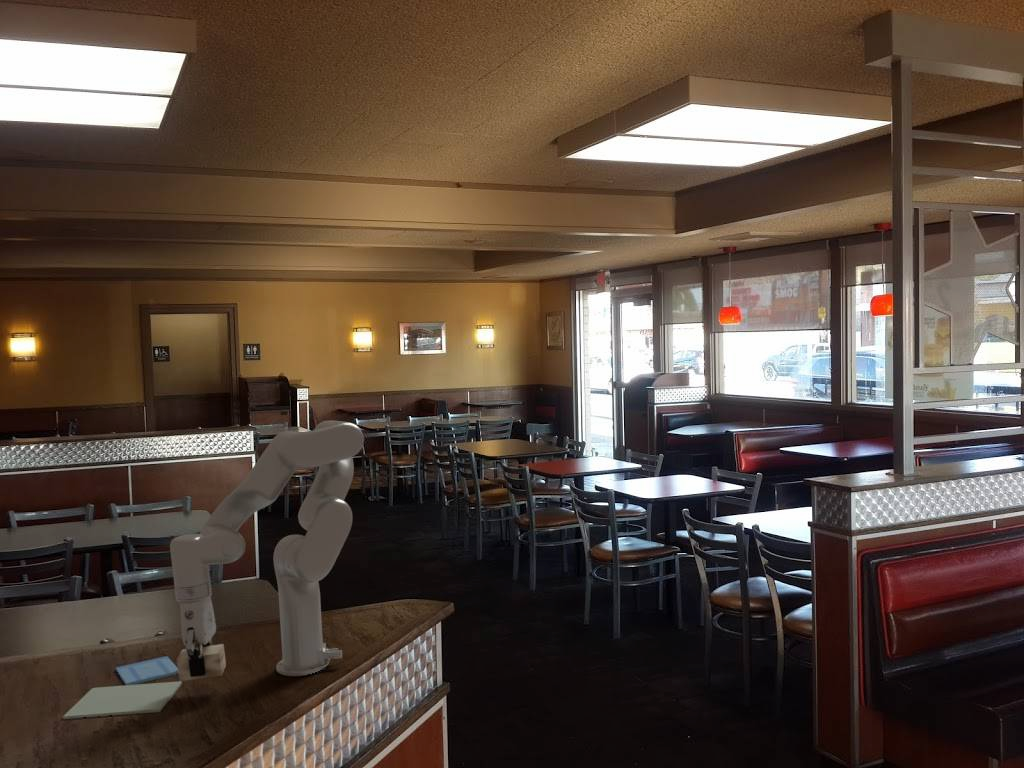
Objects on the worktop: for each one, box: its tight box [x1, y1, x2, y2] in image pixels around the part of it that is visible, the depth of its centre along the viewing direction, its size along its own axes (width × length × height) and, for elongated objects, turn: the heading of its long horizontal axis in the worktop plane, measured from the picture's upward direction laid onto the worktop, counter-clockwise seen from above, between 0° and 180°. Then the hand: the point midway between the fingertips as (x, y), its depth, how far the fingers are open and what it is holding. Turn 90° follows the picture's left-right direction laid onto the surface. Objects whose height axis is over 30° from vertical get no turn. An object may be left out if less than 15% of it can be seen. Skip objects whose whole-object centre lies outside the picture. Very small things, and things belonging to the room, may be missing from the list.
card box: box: [176, 643, 227, 682], centre depth 201 cm, size 9×6×5 cm, turn 99°
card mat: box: [62, 680, 183, 720], centre depth 199 cm, size 20×16×1 cm
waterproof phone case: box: [115, 655, 178, 686], centre depth 217 cm, size 14×12×1 cm
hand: (202, 668), depth 201 cm, fingers closed on card box, 6 cm apart
